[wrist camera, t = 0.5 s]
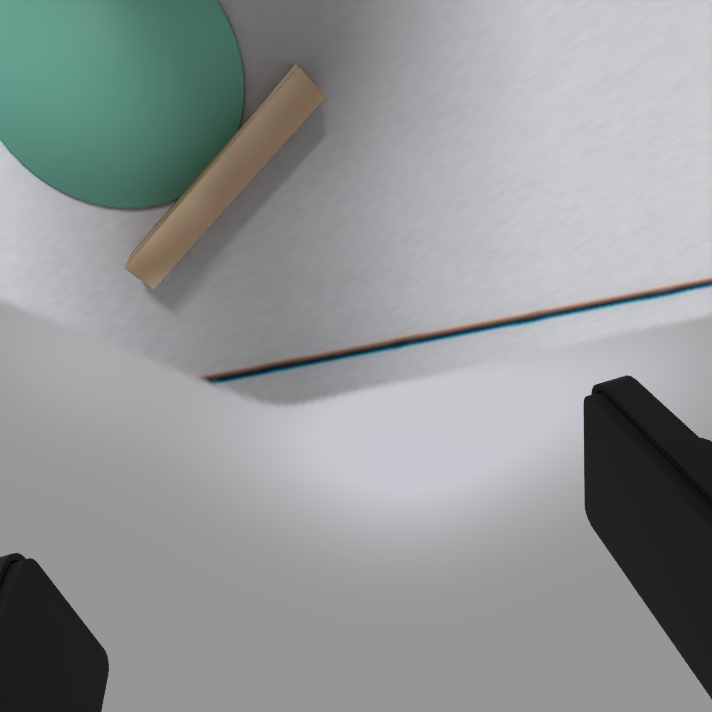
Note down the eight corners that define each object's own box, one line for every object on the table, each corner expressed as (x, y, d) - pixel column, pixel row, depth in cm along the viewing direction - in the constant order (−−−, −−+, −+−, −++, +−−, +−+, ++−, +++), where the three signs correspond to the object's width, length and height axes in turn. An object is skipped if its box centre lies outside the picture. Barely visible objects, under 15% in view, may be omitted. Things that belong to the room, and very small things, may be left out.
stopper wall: (131, 253, 37) (124, 268, 35) (295, 63, 33) (299, 66, 31) (158, 273, 38) (153, 289, 36) (320, 90, 34) (326, 95, 32)
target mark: (-91, 79, 30) (-93, 79, 30) (69, -161, 27) (68, -162, 27) (143, 253, 37) (142, 254, 37) (295, 78, 33) (296, 78, 33)
